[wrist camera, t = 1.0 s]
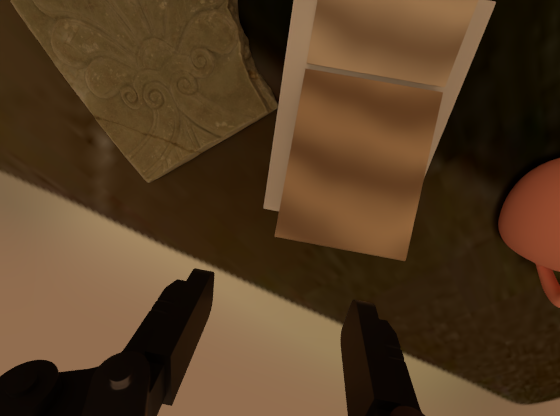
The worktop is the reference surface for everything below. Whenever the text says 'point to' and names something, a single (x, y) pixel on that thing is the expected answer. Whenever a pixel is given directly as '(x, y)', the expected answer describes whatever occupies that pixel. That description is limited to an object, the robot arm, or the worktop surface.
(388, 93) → the honey oak plank
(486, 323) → the worktop surface
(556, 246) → the teapot
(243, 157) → the worktop surface
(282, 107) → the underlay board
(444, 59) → the light oak plank
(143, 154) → the decorative tile
